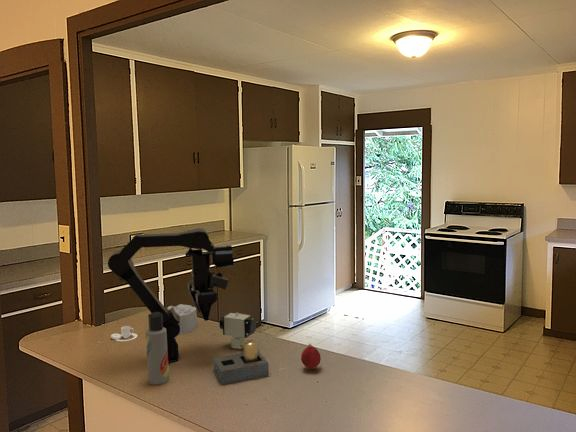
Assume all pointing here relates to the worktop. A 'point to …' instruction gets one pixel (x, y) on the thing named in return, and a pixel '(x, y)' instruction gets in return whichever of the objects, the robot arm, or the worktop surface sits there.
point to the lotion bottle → (157, 350)
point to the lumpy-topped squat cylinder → (186, 317)
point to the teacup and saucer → (124, 334)
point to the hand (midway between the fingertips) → (203, 316)
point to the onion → (310, 357)
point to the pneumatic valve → (237, 328)
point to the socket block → (239, 368)
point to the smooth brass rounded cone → (250, 351)
